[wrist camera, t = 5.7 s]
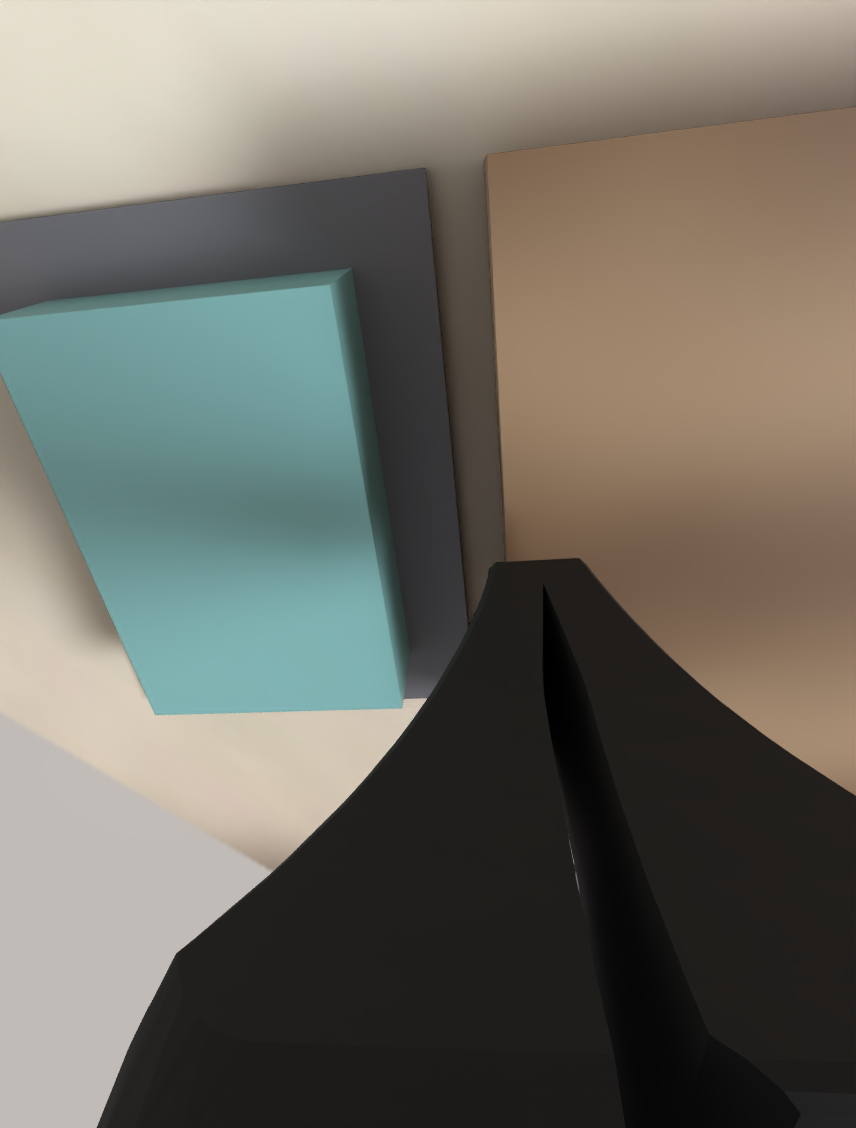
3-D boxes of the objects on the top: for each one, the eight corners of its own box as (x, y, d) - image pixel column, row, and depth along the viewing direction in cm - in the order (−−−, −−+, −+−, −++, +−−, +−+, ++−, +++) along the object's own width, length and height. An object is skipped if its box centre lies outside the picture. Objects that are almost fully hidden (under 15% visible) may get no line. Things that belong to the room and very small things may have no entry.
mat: (474, 688, 17) (474, 696, 17) (160, 699, 18) (155, 706, 18) (426, 168, 11) (424, 167, 11) (-49, 228, 12) (-61, 229, 12)
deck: (1000, 670, 16) (1146, 809, 12) (511, 687, 17) (519, 816, 14) (1293, 56, 9) (1759, -11, 6) (484, 161, 11) (486, 154, 7)
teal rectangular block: (154, 714, 15) (187, 660, 17) (402, 708, 14) (410, 651, 16) (-24, 321, 10) (46, 300, 12) (330, 284, 10) (351, 268, 11)
